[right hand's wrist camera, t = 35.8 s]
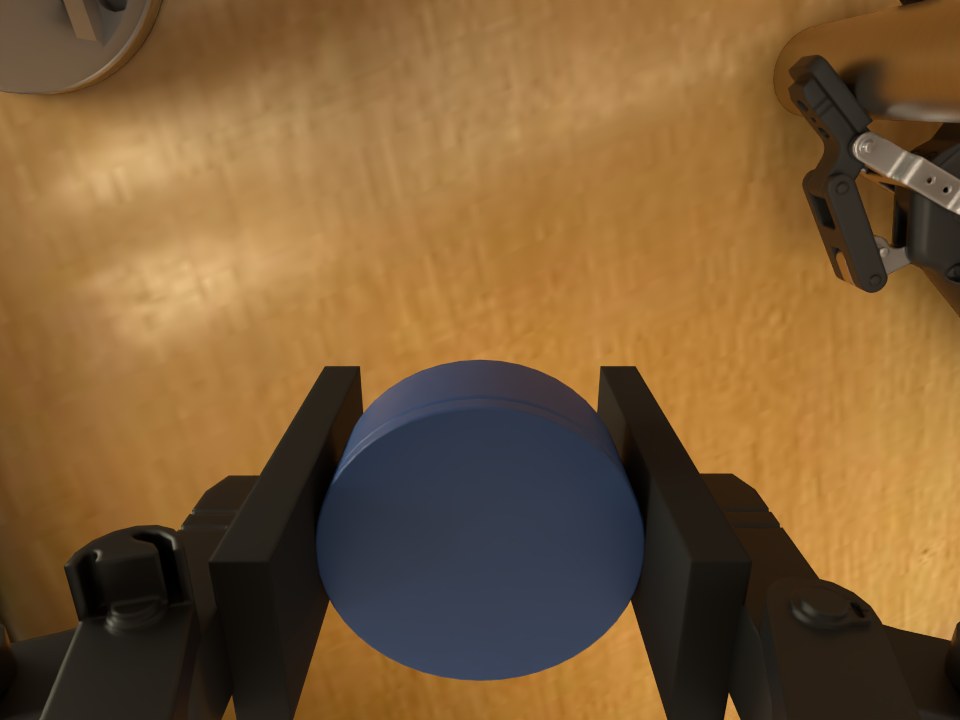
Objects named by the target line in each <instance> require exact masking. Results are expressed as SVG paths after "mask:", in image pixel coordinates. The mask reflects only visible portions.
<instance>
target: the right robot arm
mask: <svg viewBox="0 0 960 720" xmlns="http://www.w3.org/2000/svg"><path fill="white" fill-rule="evenodd" d="M161 2H162V0H0V91H2V92H9V93H18V94H58V93H67V92H71V91H76V90H80V89H83V88H86V87H88V86H91V85H94V84H96V83H98V82H100V81H102V80H104V79H105V78H107V77H109V76H110V75H112V74H113V73H115V72H116V71H117V70H118V69H120V68H121V67H122V66H123V65H124V64H126V63H127V62H128V61H129V59H130V58H131V57H132V56H133V55H134V54H135V53H136V52H137V50H138V49H139V48H140V46H141V45H142V44H143V42H144V41H145V39H146V37H147V35H148V34H149V32H150V30H151V28H152V26H153V24H154V21H155V19H156V17H157V14H158V11H159V8H160V5H161ZM362 414H363V404H362V390H361V376H360V366H325V367H324V369H323V371H322V372H321V374H320V376H319V377H318V379H317V381H316V382H315V384H314V386H313V387H312V389H311V391H310V392H309V394H308V396H307V397H306V399H305V401H304V402H303V404H302V406H301V407H300V409H299V411H298V412H297V414H296V416H295V417H294V419H293V421H292V422H291V424H290V426H289V427H288V429H287V431H286V432H285V434H284V436H283V437H282V439H281V441H280V442H279V444H278V446H277V447H276V449H275V451H274V452H273V454H272V456H271V457H270V459H269V461H268V462H267V464H266V466H265V467H264V469H263V471H262V472H261V474H260V476H228V477H226V478H225V479H223V480H222V481H220V482H219V483H217V484H216V485H215V486H213V487H212V488H210V489H209V490H207V491H206V492H205V493H204V495H203V496H202V497H201V499H200V500H199V502H198V503H197V504H196V506H195V507H194V509H193V510H192V514H189V516H188V517H187V518H186V520H185V521H184V523H183V524H182V525H181V530H178V531H177V532H176V531H175V530H174V529H172V528H168V527H163V526H159V525H145V526H134V527H130V528H126V529H121V530H117V531H114V532H111V533H109V534H107V535H104V536H102V537H100V538H98V539H95V540H93V541H91V542H90V543H89V544H87V545H86V546H84V547H83V548H81V549H80V550H78V551H77V552H76V553H75V554H74V555H73V556H72V557H71V559H70V560H69V561H68V562H67V564H66V565H65V566H64V569H65V572H66V576H67V580H68V583H69V587H70V590H71V594H72V597H73V601H74V605H75V608H76V612H77V615H78V619H79V624H78V626H77V628H73V629H70V630H67V631H63V632H59V633H55V634H50V635H46V636H41V637H37V638H32V639H28V640H24V641H19V642H15V643H10V641H9V638H8V635H7V632H6V629H5V627H4V626H3V625H2V624H1V623H0V720H221V719H222V717H223V714H224V712H225V710H226V707H227V705H228V703H229V700H230V698H231V695H232V697H233V702H234V708H235V713H236V719H237V720H293V718H294V715H295V711H296V708H297V705H298V702H299V698H300V695H301V692H302V688H303V685H304V682H305V679H306V675H307V672H308V669H309V666H310V662H311V659H312V656H313V652H314V649H315V646H316V643H317V639H318V636H319V633H320V629H321V626H322V623H323V620H324V616H325V613H326V610H327V607H328V603H329V600H330V599H329V597H328V595H327V593H326V591H325V589H324V586H323V583H322V580H321V577H320V574H319V569H318V562H317V553H316V541H315V535H316V528H317V520H318V516H319V513H320V510H321V506H322V503H323V500H324V497H325V495H326V492H327V490H328V487H329V485H330V482H331V480H332V477H333V475H334V472H335V470H336V467H337V465H338V462H339V460H340V457H341V455H342V452H343V450H344V447H345V445H346V443H347V440H348V438H349V436H350V434H351V432H352V430H353V428H354V426H355V425H356V423H357V422H358V420H359V419H360V417H361V416H362ZM597 414H598V415H599V417H600V418H601V420H602V421H603V423H604V424H605V426H606V427H607V429H608V431H609V433H610V435H611V437H612V439H613V441H614V444H615V446H616V449H617V451H618V454H619V456H620V459H621V461H622V464H623V466H624V469H625V471H626V474H627V476H628V479H629V481H630V484H631V486H632V489H633V491H634V494H635V496H636V499H637V501H638V504H639V508H640V511H641V515H642V518H643V524H644V531H645V547H644V557H643V566H642V572H641V576H640V579H639V582H638V584H637V587H636V590H635V592H634V594H633V596H632V598H631V602H632V605H633V609H634V612H635V615H636V618H637V622H638V625H639V628H640V631H641V635H642V638H643V641H644V645H645V648H646V651H647V654H648V658H649V661H650V664H651V667H652V671H653V674H654V677H655V681H656V684H657V687H658V690H659V694H660V697H661V700H662V704H663V707H664V710H665V713H666V717H667V720H724V715H725V710H726V704H727V699H728V694H730V696H731V698H732V701H733V703H734V705H735V708H736V710H737V712H738V715H739V717H740V719H741V720H960V622H959V623H957V625H956V628H955V631H954V634H953V637H952V640H951V641H949V640H945V639H940V638H936V637H931V636H927V635H922V634H918V633H913V632H909V631H905V630H900V629H897V628H893V627H890V626H886V625H883V624H882V623H881V621H880V619H879V618H878V616H877V615H876V613H875V612H874V610H873V609H872V607H871V606H870V605H869V604H867V603H866V602H865V601H864V600H862V599H861V598H860V597H859V596H857V595H856V594H855V593H853V592H851V591H849V590H847V589H845V588H843V587H841V586H839V585H837V584H835V583H833V582H829V581H825V580H822V579H819V578H818V576H817V575H816V573H815V572H814V571H813V569H812V568H811V567H810V565H809V564H808V562H807V561H806V560H805V558H804V557H803V555H802V554H801V553H800V551H799V550H798V548H797V547H796V546H795V544H794V543H793V541H792V540H791V539H790V537H789V536H788V535H787V533H786V532H785V530H784V529H783V528H780V523H779V522H778V521H777V519H776V518H775V516H774V515H773V514H772V512H769V510H768V509H769V508H768V507H767V505H766V504H765V503H764V501H763V500H762V498H761V497H760V496H759V494H758V493H757V491H756V490H755V489H754V488H752V487H751V486H749V485H748V484H746V483H745V482H743V481H742V480H741V479H739V478H738V477H736V476H735V475H733V474H700V473H699V472H698V470H697V468H696V467H695V465H694V463H693V462H692V460H691V458H690V457H689V455H688V453H687V452H686V450H685V448H684V447H683V445H682V443H681V442H680V440H679V438H678V437H677V435H676V433H675V432H674V430H673V428H672V427H671V425H670V423H669V422H668V420H667V418H666V417H665V415H664V413H663V412H662V410H661V408H660V407H659V405H658V403H657V402H656V400H655V398H654V397H653V395H652V393H651V392H650V390H649V388H648V387H647V385H646V383H645V382H644V380H643V378H642V377H641V375H640V373H639V372H638V370H637V368H636V366H601V368H600V381H599V395H598V409H597Z"/></svg>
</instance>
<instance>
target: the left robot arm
mask: <svg viewBox="0 0 960 720" xmlns="http://www.w3.org/2000/svg"><path fill="white" fill-rule="evenodd" d="M920 1H924V0H900V2H901V3H902V4H903V5H907V4H911V3H916V2H920ZM788 72H789V74H790V76H791V78H792V79H793V80H794V81H795V82H794V83H793V84H792V85H791V86H790V87H789V88H788V91H789V95H790V99H791V101H792V102H793V103H794V105H795V106H796V107H797V108H798V109H799V111H800V112H801V113H802V115H803V116H804V117H805V118H806V120H807V121H808V122H809V124H810V125H811V126H812V127H813V129H814V130H815V131H816V132H817V134H818V135H819V136H820V137H821V139H822V140H823V142H824V154H823V157H822V159H821V160H820V162H819V164H818V165H817V167H816V169H814V170H812V171H810V172H809V173H807V174H806V176H805V177H804V179H803V184H802V185H803V189H804V192H805V195H806V197H807V200H808V203H809V205H810V208H811V211H812V213H813V216H814V219H815V221H816V224H817V227H818V229H819V232H820V235H821V237H822V240H823V243H824V245H825V248H826V251H827V253H828V256H829V259H830V261H831V264H832V267H833V269H834V272H835V274H836V276H837V277H838V278H839V279H841V280H843V281H845V282H847V283H850V284H852V285H854V286H856V287H858V288H860V289H862V290H864V291H866V292H869V293H874V292H877V291H879V290H881V289H882V288H883V287H884V286H885V284H886V282H887V275H888V274H890V273H892V272H894V271H896V270H898V269H900V268H902V267H904V266H906V265H908V264H914V265H915V266H917V267H920V268H921V269H922V270H923V271H924V272H925V274H926V275H927V277H928V278H929V279H930V280H931V282H932V283H933V284H934V285H935V287H936V288H937V289H938V290H939V292H940V293H941V294H942V295H943V297H944V298H945V299H946V300H947V302H948V303H949V304H950V305H951V307H952V308H953V309H954V310H955V312H956V313H957V314H958V316H959V317H960V123H950V122H945V123H944V124H943V125H942V126H941V127H940V129H939V130H938V131H937V133H936V134H935V135H934V137H933V138H932V139H931V140H929V141H928V142H926V143H924V144H922V145H920V146H918V147H917V148H915V149H913V150H912V151H911V152H907V151H905V150H904V149H902V148H900V147H899V146H897V145H895V144H894V143H892V142H890V141H889V140H887V139H885V138H884V137H882V136H880V135H879V134H877V133H875V132H870V131H869V129H868V128H867V127H866V126H868V125H869V124H870V123H871V122H872V121H873V120H872V119H871V118H870V116H869V115H868V114H867V112H866V111H865V110H864V108H863V107H862V106H861V105H860V104H859V102H858V100H857V99H856V98H855V96H854V95H853V94H852V93H851V91H850V90H849V89H848V87H847V86H846V85H845V83H844V82H843V81H842V79H841V78H840V77H839V75H838V74H837V73H836V71H835V70H834V69H833V68H832V66H831V65H830V64H829V62H828V61H827V60H826V59H825V58H823V57H822V56H820V55H810V56H804V57H801V58H800V59H799V60H798V61H797V62H796V63H795V64H794V65H793V66H792V67H791V68H790V69H789V70H788ZM858 174H860V175H861V176H863V177H865V178H866V179H868V180H870V181H871V182H873V183H875V184H877V185H878V186H880V187H882V188H883V189H885V190H887V191H889V192H890V193H892V194H894V211H893V229H892V244H888V242H887V240H886V239H884V238H883V237H880V236H877V235H874V234H873V232H872V229H871V226H870V223H869V221H868V218H867V215H866V212H865V209H864V206H863V203H862V200H861V197H860V195H859V192H858V189H857V186H856V183H855V179H856V178H857V176H858Z"/></svg>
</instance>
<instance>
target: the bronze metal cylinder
mask: <svg viewBox="0 0 960 720" xmlns="http://www.w3.org/2000/svg"><path fill="white" fill-rule="evenodd" d="M810 55H820V56H822V57H823V58H825V59H826V60H827V61H828V62H829V64H830V65H831V66H832V68H833V69H834V70H835V71H836V73H837V74H838V75H839V77H840V78H841V79H842V81H843V82H844V83H845V85H846V86H847V87H848V89H849V90H850V91H851V93H852V94H853V95H854V96H855V98H856V99H857V100H858V102H859V104H860V105H861V106H862V107H863V108H864V110H865V111H866V112H867V114H868V115H869V116H870V118H871V119H872V120H897V121H924V122H950V123H960V0H924V1H920V2H916V3H911V4H907V5H903V6H899V7H894V8H890V9H886V10H881V11H877V12H873V13H869V14H864V15H860V16H856V17H851V18H847V19H843V20H839V21H834V22H830V23H826V24H822V25H817V26H813V27H810V28H808V29H806V30H803V31H802V32H800V33H799V34H797V35H796V36H795V37H793V38H792V39H791V40H790V41H789V42H788V44H787V45H786V46H785V47H784V49H783V50H782V52H781V54H780V56H779V58H778V60H777V63H776V66H775V70H774V88H775V92H776V95H777V97H778V99H779V101H780V103H781V104H782V105H783V106H784V107H785V108H786V109H787V110H788V111H790V112H791V113H793V114H795V115H798V116H802V117H804V116H803V115H802V113H801V112H800V111H799V109H798V108H797V107H796V106H795V105H794V103H793V102H792V101H791V99H790V95H789V91H788V88H789V87H790V86H791V85H792V84H793V83H794V82H795V81H794V80H793V79H792V78H791V76H790V74H789V72H788V70H789V69H790V68H791V67H792V66H793V65H794V64H795V63H796V62H797V61H798V60H799V59H800V58H801V57H804V56H810Z"/></svg>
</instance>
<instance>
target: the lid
mask: <svg viewBox="0 0 960 720" xmlns="http://www.w3.org/2000/svg"><path fill="white" fill-rule="evenodd" d="M315 541H316V553H317V562H318V569H319V574H320V577H321V580H322V583H323V586H324V589H325V591H326V593H327V595H328V597H329V599H330V601H331V603H332V604H333V606H334V608H335V609H336V611H337V612H338V613H339V615H340V616H341V618H342V619H343V620H344V622H345V623H346V624H347V625H348V626H349V627H350V628H351V629H352V630H353V631H354V632H355V633H356V634H357V635H358V636H359V637H360V638H361V639H363V640H364V641H365V642H366V643H367V644H369V645H370V646H371V647H373V648H374V649H376V650H377V651H379V652H380V653H382V654H383V655H385V656H387V657H388V658H390V659H392V660H394V661H396V662H398V663H400V664H403V665H405V666H407V667H410V668H413V669H415V670H418V671H421V672H424V673H428V674H432V675H436V676H440V677H445V678H452V679H459V680H476V681H485V680H502V679H508V678H515V677H521V676H525V675H529V674H532V673H536V672H540V671H542V670H545V669H548V668H550V667H553V666H556V665H558V664H560V663H562V662H564V661H566V660H568V659H570V658H572V657H574V656H576V655H577V654H579V653H580V652H582V651H583V650H585V649H586V648H588V647H589V646H591V645H592V644H593V643H594V642H596V641H597V640H598V639H599V638H600V637H602V636H603V635H604V634H605V633H606V632H607V631H608V630H609V629H610V628H611V626H612V625H613V624H614V623H615V622H616V621H617V620H618V618H619V617H620V616H621V614H622V613H623V611H624V610H625V609H626V607H627V605H628V604H629V602H630V600H631V598H632V596H633V594H634V592H635V590H636V587H637V584H638V582H639V579H640V576H641V572H642V566H643V557H644V547H645V531H644V524H643V518H642V515H641V511H640V508H639V504H638V501H637V499H636V496H635V494H634V491H633V489H632V486H631V484H630V481H629V479H628V476H627V474H626V471H625V469H624V466H623V464H622V461H621V459H620V456H619V454H618V451H617V449H616V446H615V444H614V441H613V439H612V437H611V435H610V433H609V431H608V429H607V427H606V426H605V424H604V423H603V421H602V420H601V418H600V417H599V415H598V414H597V413H596V411H595V410H594V409H593V408H592V407H591V406H590V405H589V404H588V403H587V401H586V400H584V399H583V398H582V397H581V396H580V395H578V394H577V393H576V392H575V391H574V390H573V389H571V388H570V387H568V386H567V385H565V384H563V383H562V382H560V381H559V380H557V379H555V378H553V377H551V376H549V375H547V374H545V373H542V372H540V371H538V370H535V369H532V368H529V367H525V366H522V365H519V364H513V363H508V362H503V361H491V360H469V361H458V362H453V363H447V364H442V365H438V366H435V367H432V368H429V369H426V370H423V371H420V372H418V373H416V374H414V375H412V376H409V377H407V378H405V379H403V380H402V381H400V382H399V383H397V384H396V385H394V386H392V387H391V388H389V389H388V390H387V391H386V392H384V393H383V394H382V395H381V396H380V397H378V398H377V399H376V400H375V401H374V402H373V403H372V404H371V405H370V406H369V408H368V409H367V410H366V411H365V412H364V413H363V414H362V416H361V417H360V419H359V420H358V422H357V423H356V425H355V426H354V428H353V430H352V432H351V434H350V436H349V438H348V440H347V443H346V445H345V447H344V450H343V452H342V455H341V457H340V460H339V462H338V465H337V467H336V470H335V472H334V475H333V477H332V480H331V482H330V485H329V487H328V490H327V492H326V495H325V497H324V500H323V503H322V506H321V510H320V513H319V516H318V520H317V528H316V535H315Z"/></svg>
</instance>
